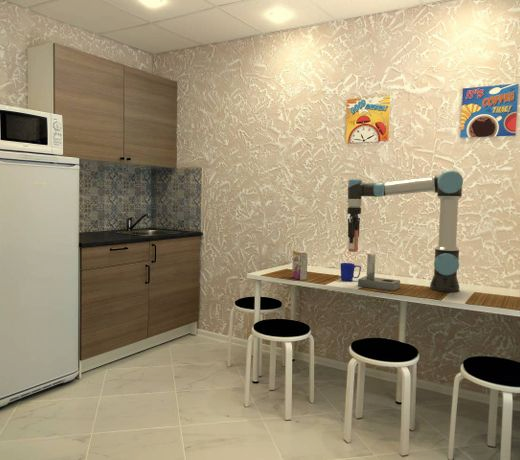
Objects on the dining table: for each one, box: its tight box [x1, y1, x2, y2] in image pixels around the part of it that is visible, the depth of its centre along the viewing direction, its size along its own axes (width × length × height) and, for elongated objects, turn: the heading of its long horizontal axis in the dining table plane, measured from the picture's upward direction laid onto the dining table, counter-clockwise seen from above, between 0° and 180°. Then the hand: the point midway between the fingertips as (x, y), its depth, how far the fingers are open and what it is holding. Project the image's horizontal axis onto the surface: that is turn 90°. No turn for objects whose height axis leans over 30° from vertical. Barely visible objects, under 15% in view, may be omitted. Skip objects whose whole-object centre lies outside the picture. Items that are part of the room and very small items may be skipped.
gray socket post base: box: [357, 253, 401, 292], centre depth 258 cm, size 20×12×18 cm, turn 58°
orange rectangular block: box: [347, 230, 359, 253], centre depth 259 cm, size 4×4×12 cm
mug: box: [340, 262, 362, 282], centre depth 275 cm, size 8×12×10 cm
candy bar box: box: [291, 250, 309, 281], centre depth 277 cm, size 11×5×16 cm, turn 22°
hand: (353, 248), depth 259 cm, fingers closed on orange rectangular block, 4 cm apart
